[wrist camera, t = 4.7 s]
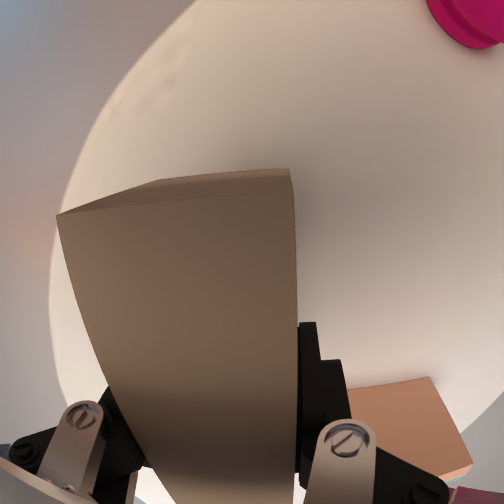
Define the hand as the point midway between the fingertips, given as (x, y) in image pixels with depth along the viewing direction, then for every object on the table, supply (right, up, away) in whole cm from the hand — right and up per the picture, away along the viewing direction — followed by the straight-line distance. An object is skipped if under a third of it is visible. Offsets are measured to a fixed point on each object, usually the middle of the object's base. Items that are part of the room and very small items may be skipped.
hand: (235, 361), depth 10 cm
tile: (+11, -8, +12) cm, 18 cm away
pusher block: (0, 0, +1) cm, 1 cm away
